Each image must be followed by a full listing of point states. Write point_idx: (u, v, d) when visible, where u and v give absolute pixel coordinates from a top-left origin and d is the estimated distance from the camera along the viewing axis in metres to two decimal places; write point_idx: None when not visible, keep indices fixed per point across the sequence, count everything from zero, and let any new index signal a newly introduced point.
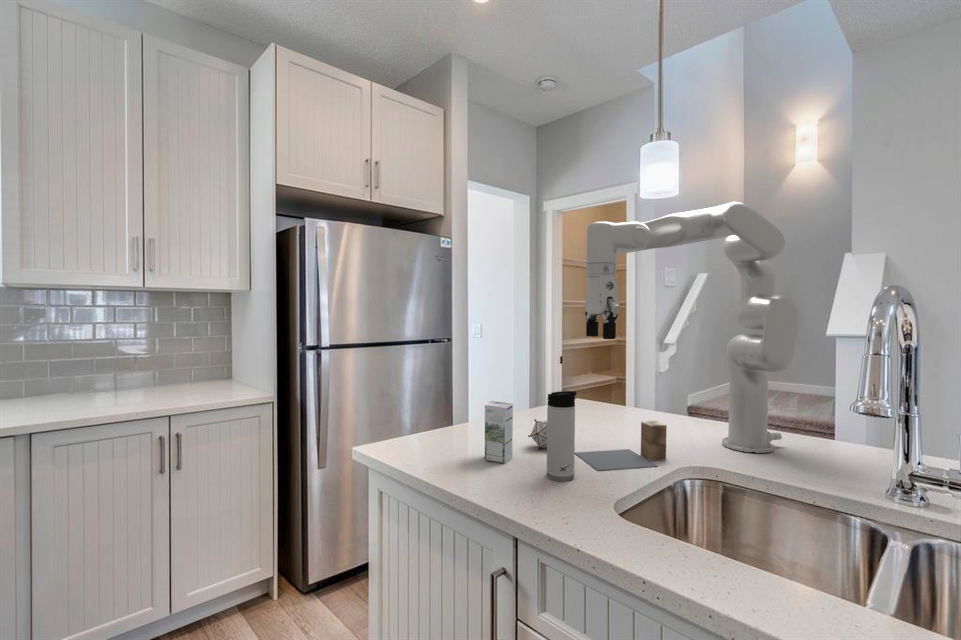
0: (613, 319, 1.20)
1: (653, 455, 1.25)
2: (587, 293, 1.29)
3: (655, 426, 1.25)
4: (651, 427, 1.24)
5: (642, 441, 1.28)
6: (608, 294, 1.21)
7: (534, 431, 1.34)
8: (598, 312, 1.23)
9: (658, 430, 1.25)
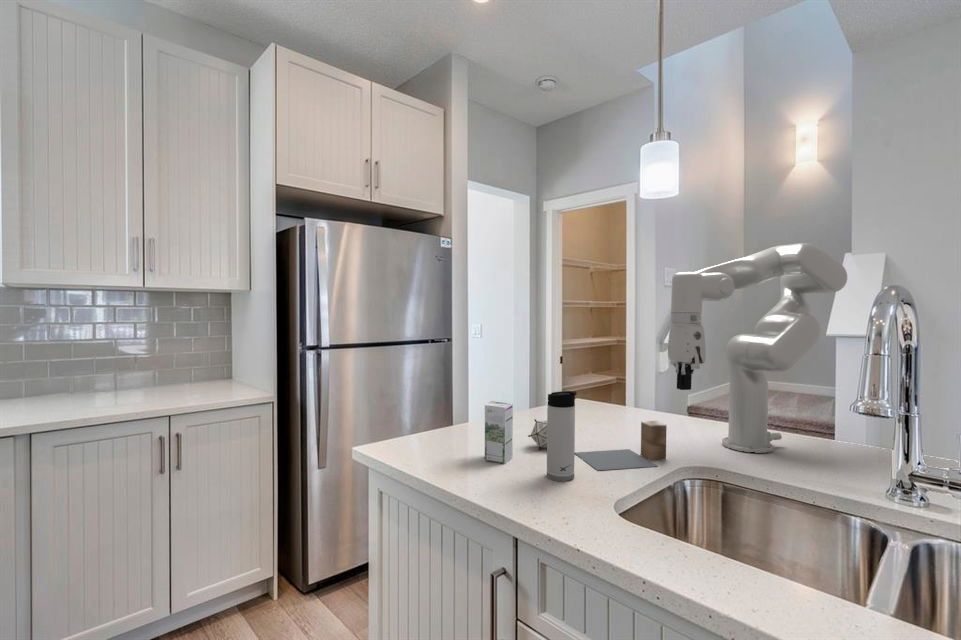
0: (690, 371, 1.26)
1: (653, 455, 1.25)
2: (670, 340, 1.31)
3: (655, 426, 1.25)
4: (651, 427, 1.24)
5: (642, 441, 1.28)
6: (696, 344, 1.23)
7: (534, 431, 1.34)
8: (684, 361, 1.25)
9: (658, 430, 1.25)
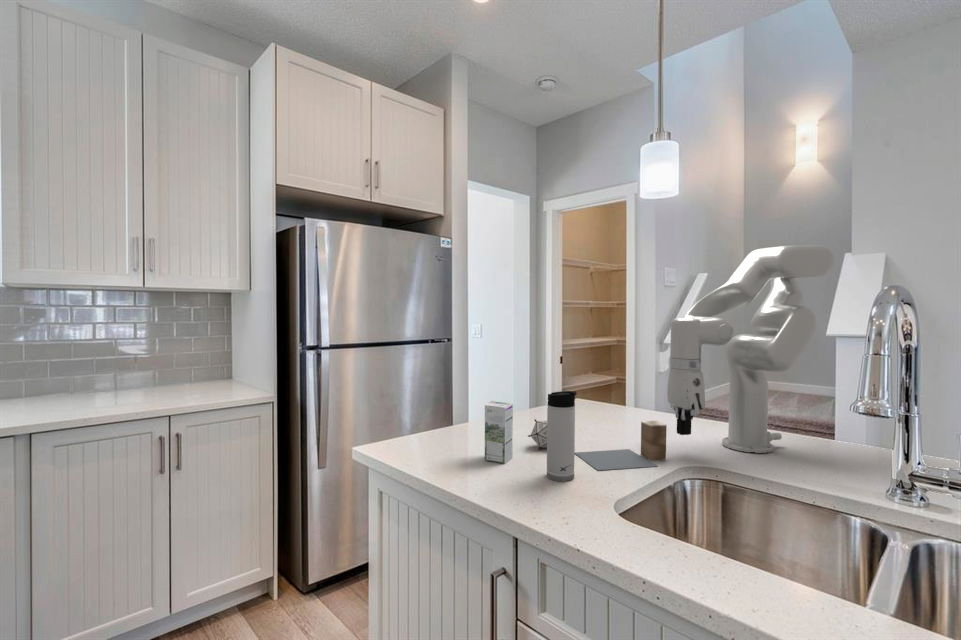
0: (690, 417, 1.27)
1: (653, 455, 1.25)
2: (669, 384, 1.31)
3: (655, 426, 1.25)
4: (651, 427, 1.24)
5: (642, 441, 1.28)
6: (695, 391, 1.24)
7: (534, 431, 1.34)
8: (684, 407, 1.25)
9: (658, 430, 1.25)
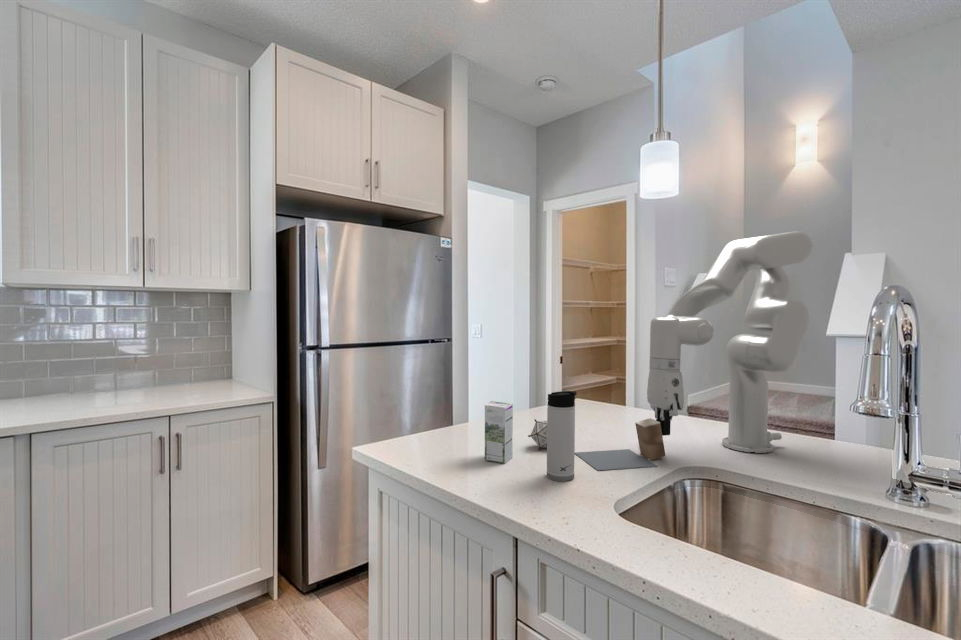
0: (669, 418, 1.25)
1: (652, 454, 1.25)
2: (649, 384, 1.30)
3: (649, 426, 1.24)
4: (645, 428, 1.24)
5: (639, 441, 1.28)
6: (674, 391, 1.22)
7: (534, 431, 1.34)
8: (663, 407, 1.24)
9: (653, 429, 1.25)
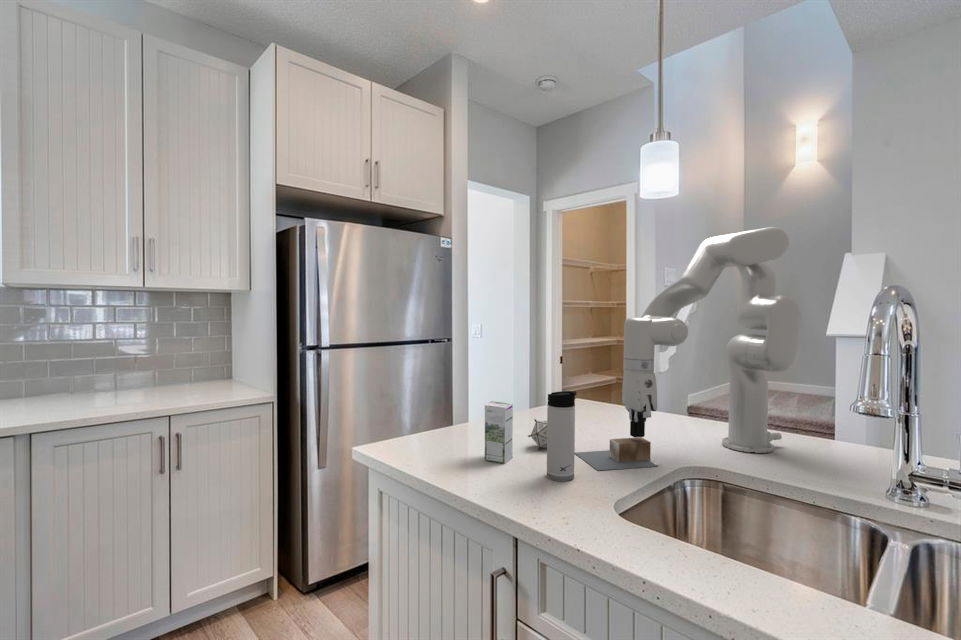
0: (643, 419, 1.24)
1: (645, 455, 1.24)
2: (623, 385, 1.28)
3: (619, 456, 1.23)
4: (619, 460, 1.23)
5: None
6: (647, 392, 1.21)
7: (534, 431, 1.34)
8: (636, 409, 1.23)
9: (623, 452, 1.23)
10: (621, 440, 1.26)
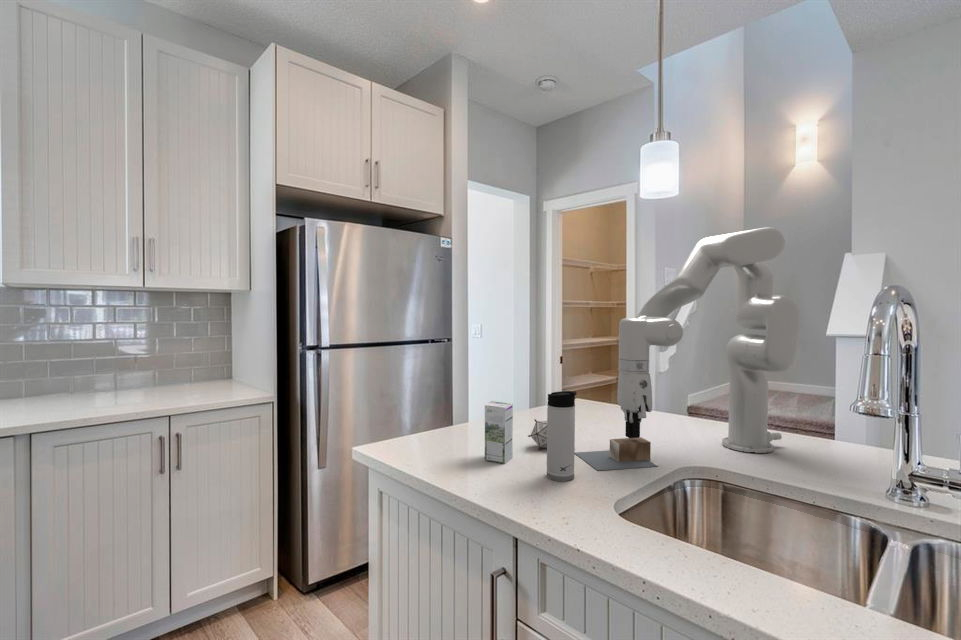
0: (638, 420, 1.23)
1: (645, 455, 1.24)
2: (619, 386, 1.28)
3: (619, 456, 1.23)
4: (619, 460, 1.23)
5: None
6: (642, 393, 1.20)
7: (534, 431, 1.34)
8: (631, 409, 1.22)
9: (623, 452, 1.23)
10: (621, 440, 1.26)
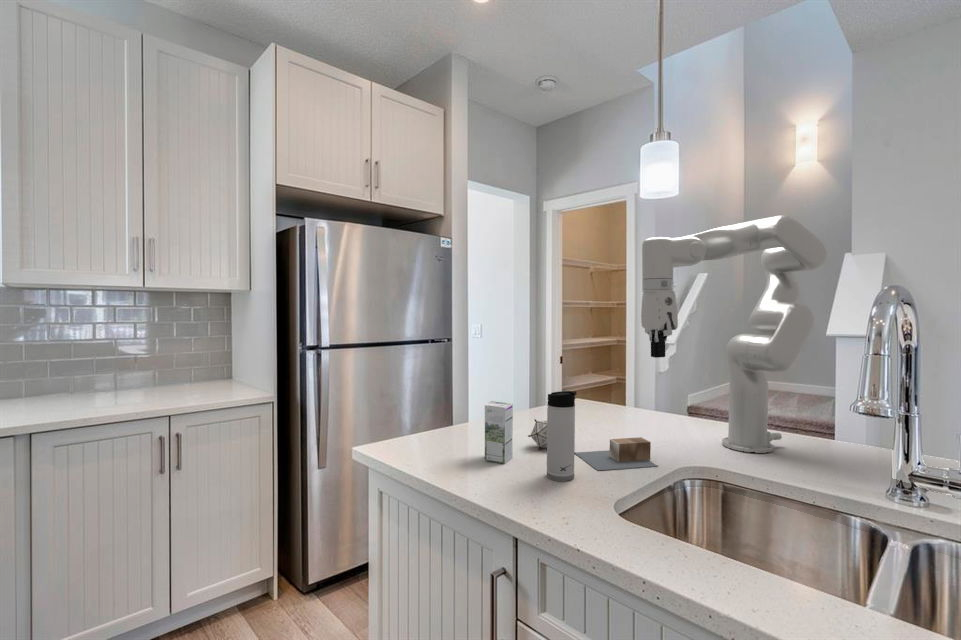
0: (663, 338, 1.24)
1: (645, 455, 1.24)
2: (643, 308, 1.29)
3: (619, 456, 1.23)
4: (619, 460, 1.23)
5: None
6: (667, 310, 1.21)
7: (534, 431, 1.34)
8: (657, 327, 1.23)
9: (623, 452, 1.23)
10: (621, 440, 1.26)
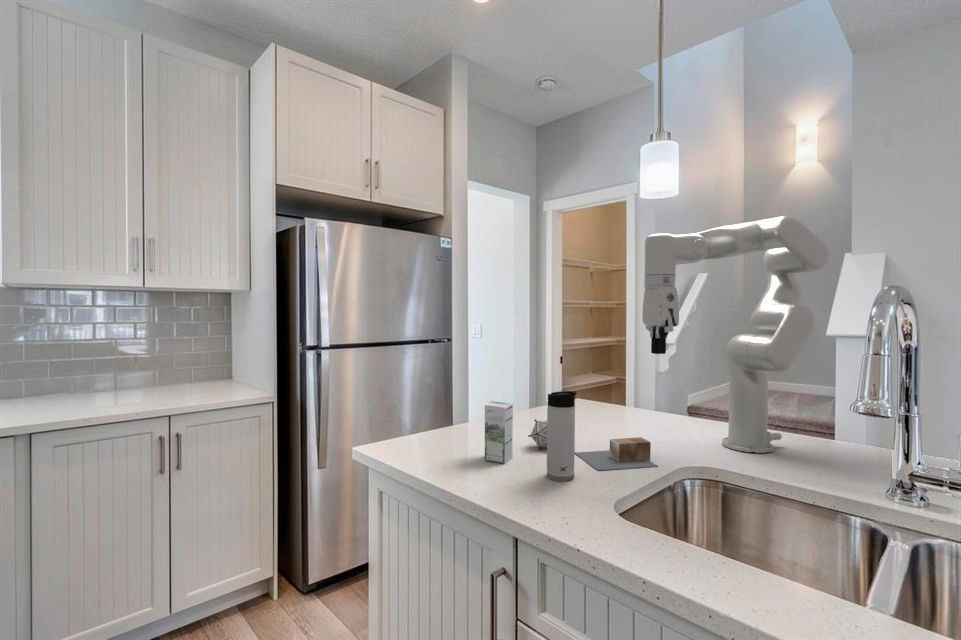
0: (664, 335, 1.24)
1: (645, 455, 1.24)
2: (644, 304, 1.29)
3: (619, 456, 1.23)
4: (619, 460, 1.23)
5: None
6: (669, 306, 1.21)
7: (534, 431, 1.34)
8: (658, 324, 1.23)
9: (623, 452, 1.23)
10: (621, 440, 1.26)
